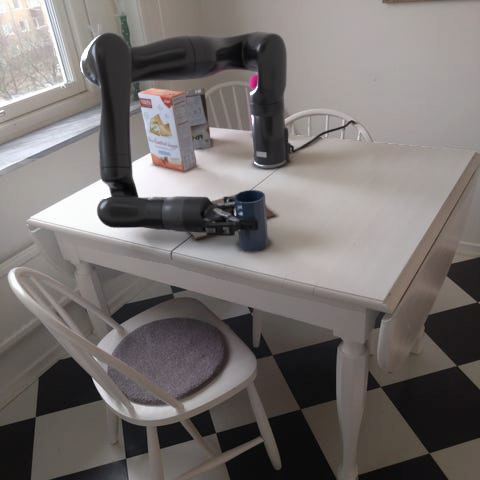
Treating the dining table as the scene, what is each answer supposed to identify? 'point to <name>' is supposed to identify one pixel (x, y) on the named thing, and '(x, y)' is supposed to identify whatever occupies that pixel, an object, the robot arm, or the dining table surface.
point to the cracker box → (168, 128)
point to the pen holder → (252, 208)
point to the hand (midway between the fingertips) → (262, 216)
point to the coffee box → (198, 117)
